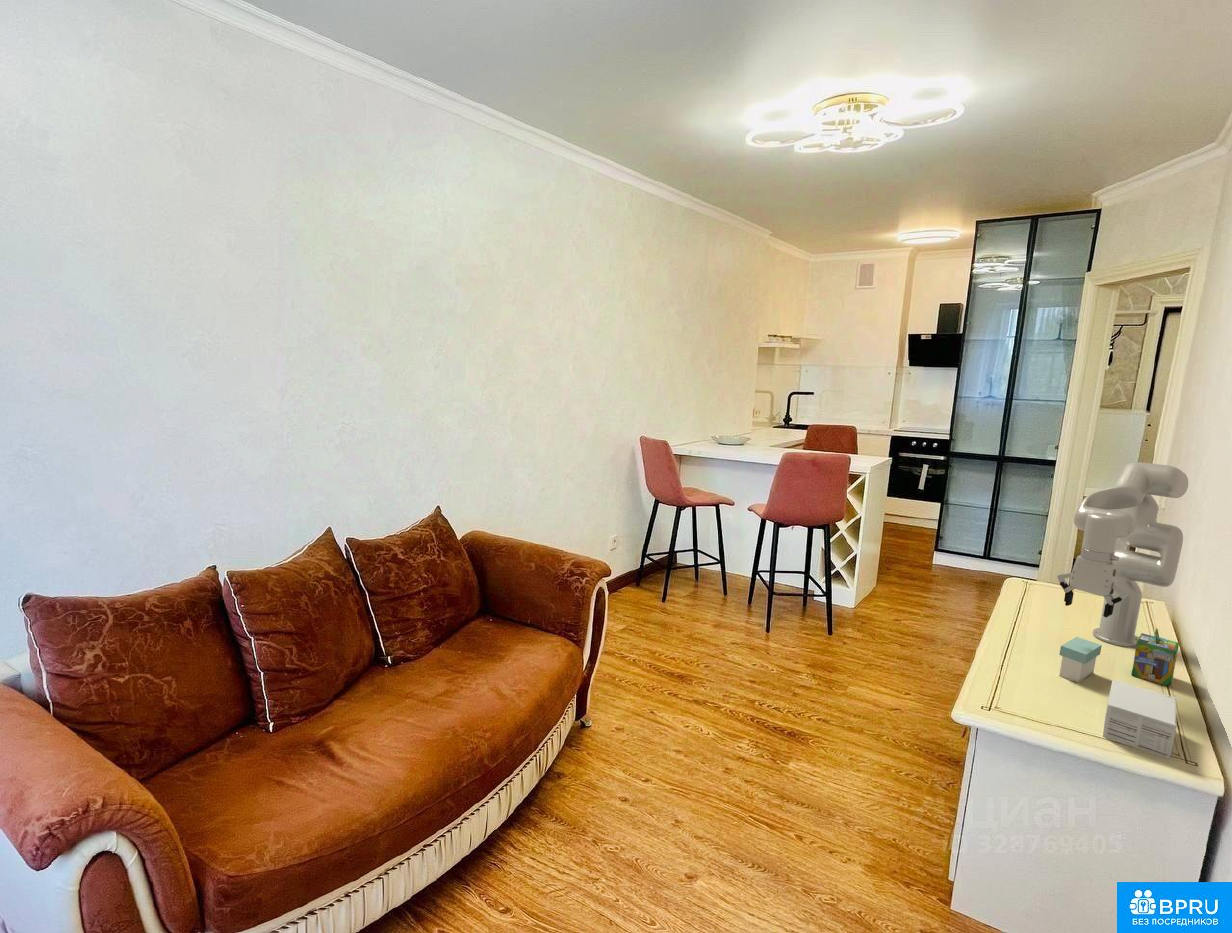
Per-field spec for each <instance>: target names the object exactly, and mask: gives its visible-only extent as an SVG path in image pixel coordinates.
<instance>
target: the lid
mask: <svg viewBox="0 0 1232 933" xmlns="http://www.w3.org/2000/svg"><path fill="white" fill-rule="evenodd" d="M1102 646H1103V645H1102V644H1099V643H1096V642H1094V641H1090V640H1088V639H1085V638H1082V637H1078V636H1076V637H1074V638H1072V639H1071V640H1068V641H1066V642H1065V643H1063V644H1061V645H1060V647H1059V648H1060V649H1059V656H1061V657H1062V656H1064V657H1066V658H1069V659H1072V660H1075V661H1078V662H1080V663H1083V664H1086V663H1087V662H1089V661H1090V660H1092V659H1094V658H1095V657H1096V658H1098V656H1100V655H1101V652H1102Z"/></svg>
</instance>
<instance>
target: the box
mask: <svg viewBox="0 0 1232 933" xmlns="http://www.w3.org/2000/svg"><path fill="white" fill-rule="evenodd" d="M1061 658H1062V659H1061V663H1060V664H1061V665H1060V668H1059V674H1058V676H1059V677H1062V678H1064V679H1067V680H1070V681H1073V682H1075V683H1078V684H1079V683H1081V682H1083V681H1084V680H1086V679H1088V677H1090V676H1091V675H1093V674H1094V672H1095V668H1096V667H1095V666H1096V661H1097V657H1095V658H1094V659H1092V660H1090V661H1089V662H1087V663H1086V664H1083V663H1080V662H1078V661H1075V660H1072V659H1069V658H1066V657H1064V656H1061Z"/></svg>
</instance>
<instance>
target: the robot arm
mask: <svg viewBox="0 0 1232 933" xmlns="http://www.w3.org/2000/svg"><path fill="white" fill-rule="evenodd" d="M1188 489H1189V479H1188V476H1187V474H1186V473H1185V472H1184V471H1183V470H1181V469H1180V468H1178V467H1176V466H1172V465H1166V464H1160V463H1159V464H1158V463H1152V462H1151V463H1150V462H1143V461H1142V462H1141V461H1140V462H1138V461H1137V462H1135V461H1134V462H1130V463H1127V464H1125V465H1124V466H1123V467H1122V468H1121V470H1120V471H1119V473H1118V475H1117V476H1116V477H1115V480H1114V482H1113V483H1112V485H1111V486H1110V487H1106V488H1104V489H1100V490H1098V491H1094V492H1092V493H1090V494H1089V495H1087V496H1086V497H1084V498H1083V500H1082V501H1081V503H1080V505H1079V506H1078V508H1077V509H1076V510H1075V513H1074V516H1073V523H1074V526H1075V527H1076V528H1077V529H1078V530H1080V531H1083V537H1082V538H1083V539H1082V544H1081V549H1080V550H1081V551H1080V555H1077V556H1076V559H1075V561H1074V564H1073V567H1072V571H1071V572H1068V573H1062V574H1058V575H1057V580H1058V583H1059V585H1060V587H1061V588H1062V589H1063V592H1064V597H1063V599H1064V600H1063V602H1065V604H1064V605H1065V606H1067V607H1068V606H1071V605H1072V604H1073V600H1074V594H1075V593H1074V591H1073V590H1077V591H1080V592H1081V591H1082V592H1083V593H1089V594H1091V595H1094V596H1099V597H1103V598H1104V599H1103V605H1102V609H1101V617H1100V622H1099V627H1097V628H1094V629H1093V630H1092V635H1093V636H1094V637H1095V638H1097V639H1099V640H1100V641H1103V642H1105V643H1108V644H1111V645H1116V646H1118V647H1119V646H1120V647H1124V648H1125V647H1126V648H1134V647H1135V648H1136V644H1137V640H1138V639H1139V638H1138V637H1136V630H1137V624H1138V619H1139V614H1140V610H1141V604H1142V597H1143V594H1142V590H1141V587H1140V586H1139V585H1138V583H1137V582H1140V583H1144V584H1148V585H1151V586H1156V587H1162V588H1166V587H1167V588H1168V587H1171V585H1172V584H1173V583H1174V581H1175V578H1176V575H1177V570H1178V565H1179V562H1180V557H1181V552H1182V548H1183V543H1184V534H1183V531H1182V529H1181V528H1180V527H1178V526H1176V525H1173V524H1167V523H1160V522H1157V519H1158V514H1159V510H1160V509H1159V504H1158V503H1157V501H1156V499H1155V498H1154V497H1153V496H1158V497H1164V498H1171V499H1178V498H1179V499H1180V498H1182V497H1183V496H1184V495H1186V493H1187V491H1188ZM1122 509H1124V511H1123V512H1121V511H1117V510H1122ZM1115 510H1116V511H1115ZM1117 538H1118V539H1119V541H1120V542H1121V543H1122V544H1123V545H1125V546H1128V547H1132V548H1136V549H1141V550H1146V551H1150V552H1151V551H1152V552H1155V553H1156V552H1157V553H1158V554H1159V555H1160V556H1157V555H1153V554H1148V553H1145V552H1144V553H1142V552H1139V551H1134V550H1129V549H1116V542H1117ZM1066 579H1069V584H1068V583H1067V581H1066Z"/></svg>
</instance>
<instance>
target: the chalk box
mask: <svg viewBox="0 0 1232 933" xmlns="http://www.w3.org/2000/svg"><path fill="white" fill-rule="evenodd" d="M1137 639H1138V640H1137V644H1136V646H1135V651H1134V659H1133V664H1132V670H1131V677H1135V678H1139V679H1143V680H1145V681H1150V682H1153V683H1156V684H1160V685H1162V686H1166V687H1169V686H1170V687H1171V686H1172V684H1173V679H1174V673H1175V667H1176V662H1177V656H1178V651H1179V647H1180V643H1179V642H1177V641H1174V640H1170V639H1167V638H1164V637H1160V634H1159V628H1157V627H1156V628H1155V631H1154V635H1151V634H1146V633H1143V632H1142V633H1141V634H1140V636H1139V637H1138V638H1137Z"/></svg>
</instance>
